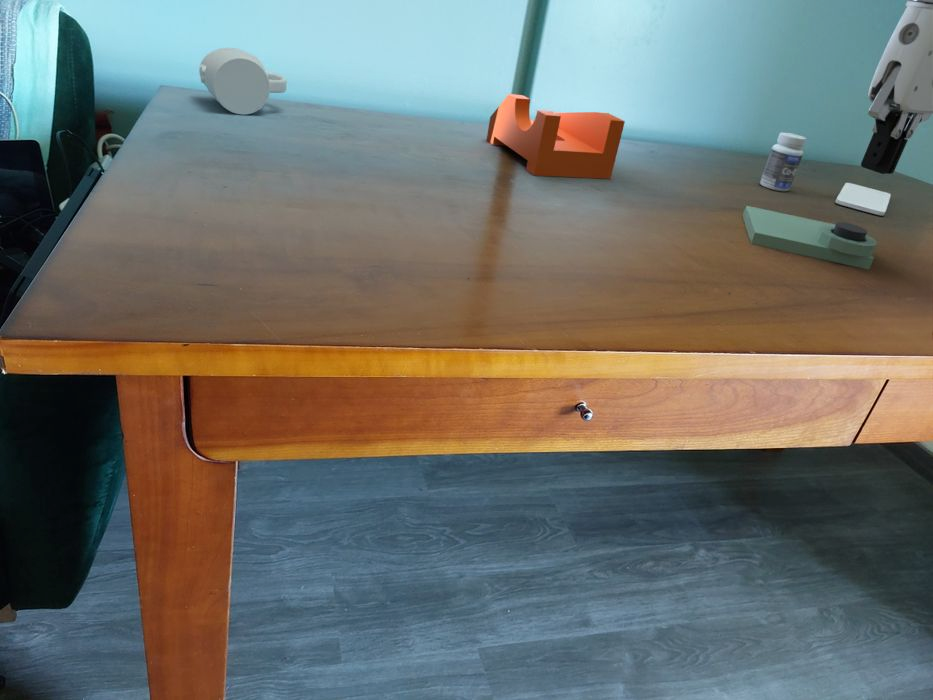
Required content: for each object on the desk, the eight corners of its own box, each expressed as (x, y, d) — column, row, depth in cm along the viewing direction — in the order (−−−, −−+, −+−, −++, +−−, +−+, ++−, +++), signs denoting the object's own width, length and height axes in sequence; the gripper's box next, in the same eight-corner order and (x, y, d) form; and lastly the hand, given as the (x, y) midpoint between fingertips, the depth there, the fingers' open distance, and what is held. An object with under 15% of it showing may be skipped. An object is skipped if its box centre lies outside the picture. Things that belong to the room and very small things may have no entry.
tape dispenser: (610, 178, 107) (624, 121, 103) (533, 175, 102) (545, 114, 98) (556, 144, 121) (566, 92, 117) (486, 140, 117) (495, 86, 113)
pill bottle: (778, 193, 115) (798, 139, 111) (753, 183, 118) (771, 131, 114) (795, 191, 118) (814, 139, 114) (769, 181, 121) (788, 130, 117)
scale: (849, 239, 98) (858, 218, 97) (872, 273, 87) (883, 249, 86) (742, 216, 100) (749, 195, 99) (751, 246, 89) (759, 223, 88)
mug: (208, 113, 105) (206, 54, 102) (200, 98, 113) (198, 42, 109) (291, 117, 110) (293, 62, 107) (278, 102, 118) (279, 50, 114)
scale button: (859, 236, 90) (863, 226, 90) (866, 245, 87) (870, 235, 87) (829, 230, 91) (833, 219, 90) (835, 239, 88) (839, 228, 87)
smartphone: (835, 199, 114) (845, 182, 126) (833, 203, 114) (844, 186, 126) (885, 212, 111) (891, 193, 123) (883, 217, 111) (889, 198, 123)
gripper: (948, -6, 70) (868, 182, 78) (1020, 10, 77) (940, 179, 86) (877, -16, 75) (809, 161, 84) (951, 0, 83) (882, 160, 91)
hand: (876, 169), depth 85 cm, fingers closed
